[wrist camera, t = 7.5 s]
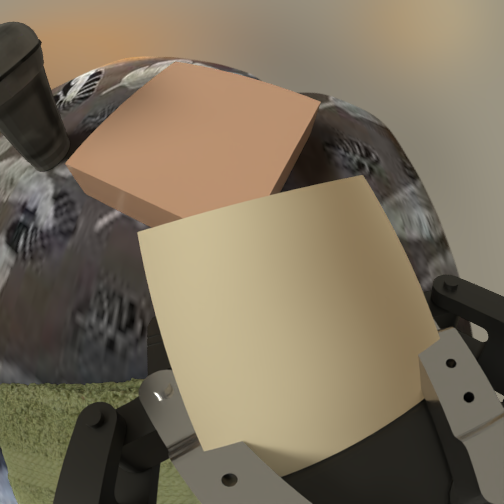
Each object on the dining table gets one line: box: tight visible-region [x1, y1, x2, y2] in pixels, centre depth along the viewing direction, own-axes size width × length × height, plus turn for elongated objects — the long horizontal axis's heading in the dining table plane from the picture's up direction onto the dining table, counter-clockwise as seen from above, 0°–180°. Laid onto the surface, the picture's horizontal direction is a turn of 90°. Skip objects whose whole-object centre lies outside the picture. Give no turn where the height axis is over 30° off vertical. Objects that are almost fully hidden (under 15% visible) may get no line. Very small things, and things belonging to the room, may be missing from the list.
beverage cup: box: [0, 22, 70, 171], centre depth 11 cm, size 7×7×20 cm
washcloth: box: [0, 378, 201, 504], centre depth 10 cm, size 13×18×3 cm
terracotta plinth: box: [65, 62, 321, 228], centre depth 19 cm, size 14×14×4 cm
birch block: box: [137, 175, 440, 487], centre depth 9 cm, size 5×5×10 cm
